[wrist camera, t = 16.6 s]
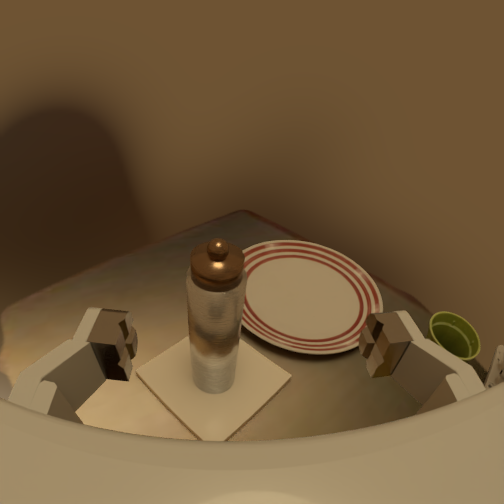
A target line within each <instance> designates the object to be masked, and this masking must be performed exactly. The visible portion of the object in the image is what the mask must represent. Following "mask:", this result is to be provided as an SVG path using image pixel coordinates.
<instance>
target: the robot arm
mask: <svg viewBox="0 0 504 504" xmlns="http://www.w3.org/2000/svg"><path fill="white" fill-rule="evenodd" d="M132 323H133V317H132V313H131V312H129V311H121V310H112V309H100V308H93V307H90V308H89V309H87V311H86V313H85V315H84V317H83V319H82V321H81V323H80V325H79V327H78V329H77V331H76V333H75V335H74V337H73V339H72V340H70V339H68V340H67V341H65V342H64V343H62V344H61V345H59V346H58V347H56V348H55V349H53V350H52V351H51V352H49V353H48V354H46V355H45V356H43V357H42V358H40V359H39V360H37V361H36V362H35V363H33V364H32V365H30V366H29V367H27V368H26V369H25V370H23V371H22V372H20V374H19V377H18V379H17V381H16V383H15V385H14V387H13V389H12V391H11V394H10V396H9V398H8V400H5V399H2V398H0V504H504V345H499V346H498V347H497V348H496V350H495V353H494V356H493V359H492V362H491V365H490V368H489V371H488V374H487V376H486V379H485V382H484V384H483V383H482V382H481V380H480V378H479V377H478V375H477V374H476V372H475V370H474V369H473V367H472V366H470V365H469V364H467V363H466V362H464V361H462V360H461V359H459V358H458V357H456V356H455V355H453V354H451V353H450V352H448V351H447V350H445V349H443V348H442V347H440V346H439V345H437V344H436V343H434V342H432V341H431V340H429V339H425V338H424V337H423V335H422V334H421V332H420V330H419V329H418V327H417V326H416V324H415V323H414V321H413V320H412V318H411V317H410V315H409V314H408V312H406V311H405V310H404V311H394V312H382V313H370V314H369V315H368V316H367V318H366V321H365V323H366V325H367V326H366V327H365V328H364V329H363V330H362V331H361V333H360V336H359V350H360V352H361V355H362V356H363V357H365V358H366V359H367V362H366V367H367V369H368V371H369V374H370V376H371V378H376V377H384V376H391V377H392V378H393V379H394V380H395V381H396V382H397V383H398V384H399V385H401V386H402V387H403V388H404V389H405V390H406V391H407V392H408V393H409V394H410V395H412V396H413V397H414V398H415V399H416V400H417V401H418V402H419V403H420V404H421V405H423V406H422V407H421V408H420V409H419V411H418V412H417V413H416V415H414V416H411V417H407V418H404V419H400V420H396V421H392V422H388V423H384V424H380V425H375V426H371V427H366V428H361V429H356V430H350V431H345V432H339V433H332V434H325V435H318V436H310V437H301V438H290V439H277V440H260V441H202V440H184V439H172V438H162V437H153V436H145V435H137V434H131V433H124V432H119V431H113V430H108V429H103V428H98V427H93V426H89V425H84V424H83V422H82V421H81V420H80V418H79V417H78V416H77V414H76V413H75V411H76V410H77V409H78V408H79V407H80V406H81V405H82V404H83V403H84V402H85V401H86V400H87V399H88V398H89V397H90V396H91V395H92V394H93V393H94V392H95V391H96V390H97V389H98V388H99V387H100V386H101V385H102V384H103V383H104V382H105V381H106V379H111V380H120V381H129V379H130V375H131V371H132V367H133V365H132V362H131V359H133V358H134V357H135V356H136V352H137V343H138V340H137V333H136V330H135V329H134V328H133V327H132Z"/></svg>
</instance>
